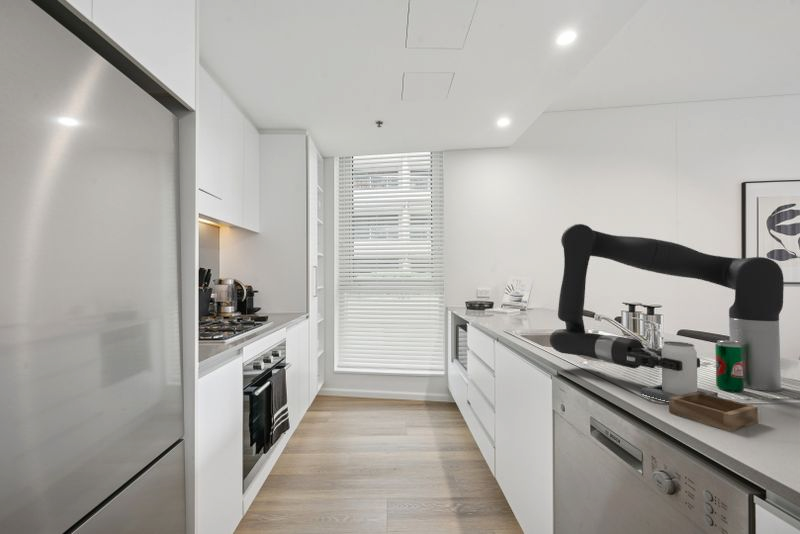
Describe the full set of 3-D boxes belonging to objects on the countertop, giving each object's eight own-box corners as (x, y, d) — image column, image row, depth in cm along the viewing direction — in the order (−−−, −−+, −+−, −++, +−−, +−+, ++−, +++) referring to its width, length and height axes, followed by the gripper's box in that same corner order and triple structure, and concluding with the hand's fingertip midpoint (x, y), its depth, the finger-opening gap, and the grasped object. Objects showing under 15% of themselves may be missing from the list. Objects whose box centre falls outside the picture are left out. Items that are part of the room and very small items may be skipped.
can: (704, 401, 78) (703, 346, 79) (671, 399, 80) (670, 345, 80) (687, 392, 85) (686, 341, 85) (656, 390, 86) (655, 340, 86)
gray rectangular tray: (673, 388, 89) (673, 382, 89) (717, 399, 81) (717, 392, 81) (641, 395, 84) (641, 388, 84) (684, 408, 75) (684, 400, 76)
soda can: (737, 394, 85) (736, 343, 85) (711, 388, 90) (710, 340, 90) (748, 391, 87) (747, 342, 87) (722, 385, 92) (721, 339, 92)
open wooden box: (696, 405, 77) (696, 391, 77) (758, 422, 68) (757, 406, 68) (669, 412, 73) (668, 397, 73) (730, 431, 64) (730, 414, 64)
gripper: (600, 338, 93) (671, 350, 77) (635, 334, 99) (707, 345, 83) (601, 367, 92) (672, 385, 77) (635, 362, 98) (708, 377, 83)
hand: (690, 364), depth 80 cm, fingers closed on can, 6 cm apart
